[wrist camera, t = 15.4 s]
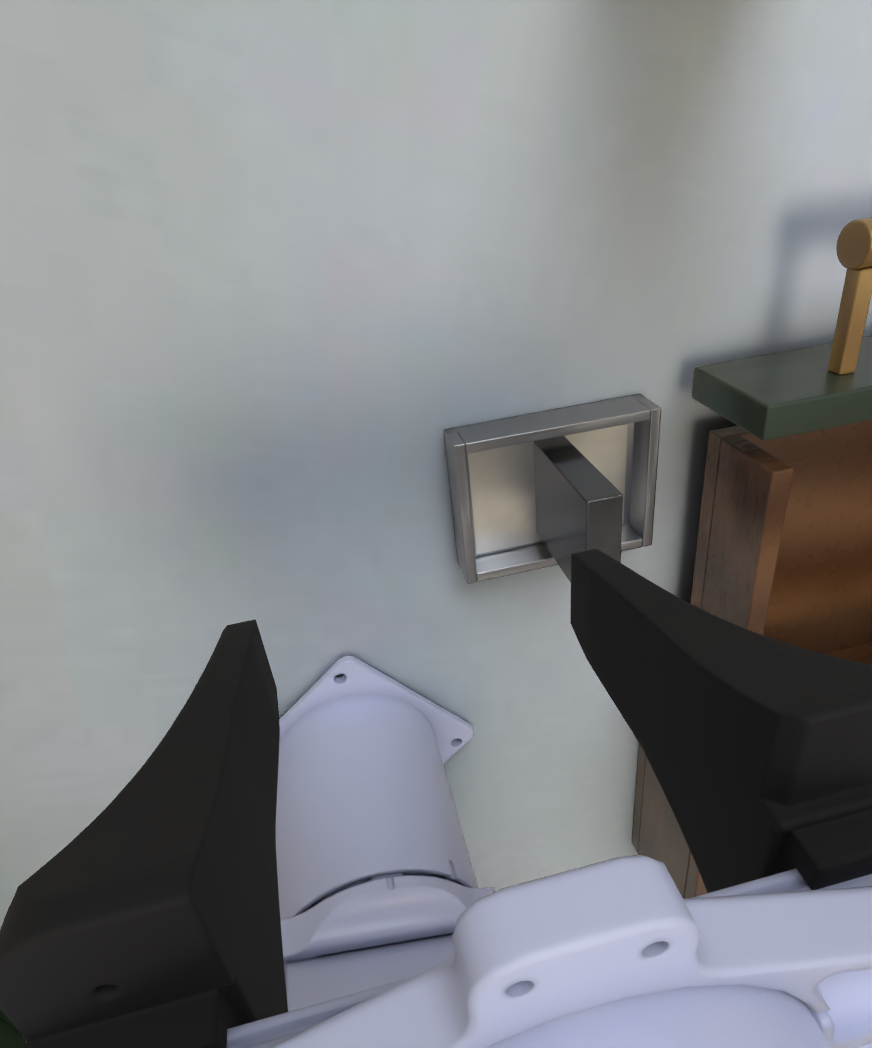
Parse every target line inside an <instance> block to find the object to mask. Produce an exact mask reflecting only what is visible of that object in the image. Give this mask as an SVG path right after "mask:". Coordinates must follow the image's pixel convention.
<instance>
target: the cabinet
mask: <svg viewBox="0 0 872 1048" xmlns="http://www.w3.org/2000/svg"><path fill="white" fill-rule="evenodd" d="M862 663H868V664H872V659H871V660H867V661H863V662H862ZM632 843H633V845H634V847H635V849H636V851H637V852H638V853H639V855H643V856H647V857H649V858H652V859H655V860H657V861H660V862H662V863H664V864H665V866H666V868H667V870H668V872H669V874H670V875H671V877H672V879H673V881H674V883H675V885H676V887H677V889H678V890H679V892H680V894H681V896H682V898H683V899H687V898H693V897H696V896H700V895H703V894H707V893H708V892H707V890H706V888H705V885H704V883H703V880H702V878H701V875H700V873H699V870H698V868H697V866H696V863H695V861H694V859H693V856H692V854H691V852H690V850H689V847H688V845H687V843H686V840H685V838H684V836H683V833H682V831H681V829H680V826H679V824H678V822H677V820H676V818H675V816H674V813H673V811H672V809H671V807H670V805H669V803H668V800H667V798H666V796H665V794H664V792H663V790H662V787H661V785H660V783H659V781H658V779H657V777H656V775H655V773H654V771H653V769H652V767H651V765H650V763H649V761H648V759H647V757H646V755H645V753H644V751H643V749H642V747H641V746H640V744H639V753H638V767H637V781H636V796H635V810H634V824H633V838H632Z"/></svg>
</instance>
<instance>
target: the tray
mask: <svg viewBox="0 0 872 1048" xmlns="http://www.w3.org/2000/svg"><path fill="white" fill-rule="evenodd" d="M660 418H661V407H659V406H658V405H656V404H655V403H653V402H652V401H650V400H649V399H647V398H646V397H644V396H643V395H641V394H637V395H632V396H626V397H621V398H615V399H610V400H604V401H598V402H593V403H587V404H582V405H576V406H571V407H565V408H560V409H554V410H549V411H543V412H538V413H532V414H527V415H521V416H516V417H510V418H505V419H499V420H493V421H488V422H482V423H477V424H471V425H466V426H460V427H455V428H449V429H445V430H444V436H445V446H446V455H447V465H448V474H449V484H450V494H451V503H452V513H453V522H454V532H455V542H456V551H457V561H458V564H459V566H460V568H461V571H462V573H463V575H464V577H465V580H466V582H467V584H470V583H474V582H477V581H478V582H479V581H484V580H488V579H493V578H498V577H503V576H507V575H512V574H517V573H521V572H526V571H531V570H535V569H540V568H545V567H550V566H554V565H559V566H560V568H561V569H562V571H563V572H564V573H565V575H566V576H567V578H568V579H569V581H570V582H571V554H573V553H578V552H582V551H587V550H592V549H598V550H600V551H601V552H603V553H605V554H607V555H608V556H610V557H611V558H613V559H615V560H616V561H618V562H619V563H620V558H621V551H625V550H630V549H634V548H639V547H642V546H648V545H652V534H653V519H654V505H655V490H656V476H657V462H658V447H659V433H660Z"/></svg>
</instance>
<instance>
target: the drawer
mask: <svg viewBox="0 0 872 1048" xmlns="http://www.w3.org/2000/svg"><path fill="white" fill-rule="evenodd" d="M837 256H838V259H839V261H840V263H841V264H842V265H843V266H844V267H845V268H848V269H847V273H846V278H845V283H844V288H843V293H842V298H841V303H840V309H839V314H838V319H837V324H836V329H835V334H834V339H833V343H828V344H822V345H817V346H811V347H805V348H800V349H794V350H789V351H783V352H777V353H772V354H766V355H760V356H755V357H749V358H743V359H738V360H732V361H726V362H721V363H715V364H710V365H704V366H698V367H695V368H694V377H693V388H692V398H693V399H695V400H696V401H698V402H700V403H701V404H703V405H705V406H706V407H708V408H710V409H711V410H713V411H715V412H716V413H718V414H719V415H721V416H723V417H724V418H726V419H728V420H729V421H731V422H733V423H734V424H736V425H738V426H733V427H728V428H722V429H717V430H712V431H709V439H708V448H707V457H706V467H705V476H704V485H703V494H702V503H701V512H700V521H699V531H698V540H697V549H696V558H695V567H694V576H693V585H692V595H691V604H692V605H694V606H696V607H698V608H700V609H702V610H704V611H706V612H708V613H710V614H712V615H714V616H716V617H719V618H721V619H723V620H726V621H728V622H730V623H733V624H735V625H738V626H740V627H742V628H745V629H747V630H750V631H753V632H755V633H758V634H761V635H763V636H766V637H769V638H772V639H775V640H778V641H781V642H784V643H787V644H790V645H794V646H797V647H801V648H804V649H807V650H811V651H815V652H819V653H823V654H827V655H830V656H834V657H838V658H843V659H847V660H852V661H857V662H863V661H867V660H871V659H872V336H867V337H862V336H863V332H864V327H865V322H866V318H867V313H868V309H869V304H870V299H871V295H872V217H871V218H865V219H858V220H853V221H851V222H850V223H848V224H847V225H846V226H845V227H844V228H843V229H842V231H841V232H840V235H839V237H838V241H837Z"/></svg>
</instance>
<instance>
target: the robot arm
mask: <svg viewBox="0 0 872 1048" xmlns="http://www.w3.org/2000/svg"><path fill="white" fill-rule="evenodd" d="M571 625H572V627H573V629H574V631H575V634H576V636H577V638H578V641H579V643H580V645H581V647H582V649H583V651H584V654H585V656H586V658H587V660H588V661H589V663H590V665H591V666H592V668H593V670H594V671H595V673H596V675H597V676H598V678H599V679H600V681H601V683H602V684H603V686H604V687H605V689H606V691H607V692H608V694H609V695H610V697H611V698H612V700H613V702H614V703H615V705H616V706H617V708H618V710H619V711H620V713H621V714H622V716H623V717H624V719H625V721H626V722H627V724H628V725H629V727H630V729H631V730H632V732H633V733H634V735H635V737H636V738H637V740H638V742H639V744H640V746H641V747H642V749H643V751H644V753H645V755H646V757H647V759H648V761H649V763H650V765H651V767H652V769H653V771H654V773H655V775H656V777H657V779H658V781H659V783H660V785H661V787H662V790H663V792H664V794H665V796H666V798H667V800H668V803H669V805H670V807H671V809H672V811H673V813H674V816H675V818H676V820H677V822H678V824H679V826H680V829H681V831H682V833H683V836H684V838H685V840H686V843H687V845H688V847H689V850H690V852H691V854H692V856H693V859H694V861H695V863H696V866H697V868H698V870H699V873H700V875H701V878H702V880H703V883H704V885H705V888H706V890H707V892H708V893H707V894H703V895H700V896H696V897H693V898H687V899H683V898H682V896H681V894H680V892H679V890H678V889H677V887H676V885H675V883H674V881H673V879H672V877H671V875H670V874H669V872H668V870H667V868H666V866H665V864H664V863H662V862H660V861H657V860H655V859H652V858H649V857H647V856H643V855H635V856H626V857H617V858H614V859H610V860H606V861H603V862H599V863H595V864H591V865H588V866H584V867H580V868H577V869H573V870H569V871H566V872H562V873H558V874H555V875H551V876H547V877H543V878H540V879H536V880H532V881H529V882H525V883H521V884H518V885H514V886H510V887H506V888H503V889H500V890H498V891H494V889H493V888H491V887H490V888H478V886H477V882H476V879H475V875H474V872H473V868H472V865H471V861H470V858H469V854H468V851H467V847H466V843H465V840H464V836H463V833H462V829H461V826H460V822H459V819H458V815H457V811H456V808H455V804H454V801H453V797H452V794H451V790H450V787H449V783H448V780H447V776H446V772H445V769H444V765H443V764H444V763H445V762H447V761H448V760H449V759H450V758H451V757H452V756H453V755H454V754H455V753H456V752H458V751H459V750H460V749H461V748H462V747H463V746H464V745H465V744H466V743H467V742H469V741H470V740H471V739H472V737H473V736H474V731H473V728H472V725H471V724H469V723H468V722H466V721H464V720H463V719H461V718H459V717H457V716H456V715H454V714H452V713H450V712H449V711H447V710H445V709H443V708H442V707H440V706H438V705H437V704H435V703H433V702H431V701H430V700H428V699H426V698H424V697H423V696H421V695H419V694H418V693H416V692H414V691H412V690H411V689H409V688H407V687H405V686H404V685H402V684H400V683H398V682H397V681H395V680H393V679H392V678H390V677H388V676H386V675H385V674H383V673H381V672H379V671H378V670H376V669H374V668H373V667H371V666H369V665H367V664H366V663H364V662H362V661H360V660H359V659H357V658H355V657H352V656H345V657H342V658H340V659H339V660H338V661H337V662H336V663H335V664H334V665H333V666H332V667H331V668H330V669H329V670H328V671H327V672H326V673H325V674H324V675H323V676H322V677H321V678H320V679H319V680H318V681H317V682H316V683H315V684H314V685H313V686H312V687H311V688H310V689H309V690H308V691H307V692H306V693H305V694H304V695H303V696H302V697H301V698H300V699H299V700H298V701H297V702H296V703H295V704H294V705H293V706H292V707H291V708H290V709H289V710H288V711H287V712H286V713H285V714H284V715H283V716H282V717H281V718H280V719H279V711H278V699H277V688H276V685H275V681H274V678H273V675H272V672H271V668H270V665H269V662H268V659H267V655H266V652H265V649H264V645H263V642H262V639H261V636H260V632H259V629H258V626H257V623H256V620H251V621H246V622H241V623H236V624H232V625H227V626H226V628H225V629H224V630H223V632H222V634H221V637H220V639H219V641H218V643H217V645H216V648H215V650H214V652H213V654H212V656H211V658H210V660H209V662H208V664H207V666H206V668H205V670H204V672H203V674H202V675H201V677H200V679H199V681H198V683H197V684H196V686H195V688H194V690H193V692H192V694H191V695H190V697H189V699H188V701H187V702H186V704H185V705H184V707H183V709H182V710H181V712H180V713H179V715H178V717H177V718H176V720H175V721H174V723H173V725H172V726H171V728H170V729H169V731H168V732H167V734H166V735H165V737H164V738H163V739H162V741H161V742H160V744H159V745H158V747H157V748H156V749H155V751H154V752H153V753H152V755H151V756H150V757H149V759H148V760H147V761H146V763H145V764H144V765H143V766H142V768H141V769H140V770H139V771H138V772H137V774H136V775H135V776H134V777H133V778H132V780H131V781H130V782H129V783H128V784H127V785H126V786H125V788H124V789H123V790H122V791H121V792H120V793H119V794H118V796H117V797H116V798H115V799H114V800H113V801H112V802H111V803H110V804H109V805H108V807H107V808H106V809H105V810H104V811H103V812H102V813H101V814H100V815H99V816H98V817H97V818H96V819H95V820H94V821H93V822H92V823H91V824H90V825H89V826H88V827H86V828H85V829H84V830H83V831H82V832H81V833H80V834H79V835H78V836H77V837H76V838H75V839H74V840H73V841H72V842H71V843H69V844H68V845H67V846H66V847H65V848H64V849H63V850H62V851H60V852H59V853H58V854H57V855H56V856H55V857H53V858H52V859H51V860H50V861H49V862H47V863H46V864H45V865H44V866H43V867H42V868H40V869H39V870H38V871H37V872H36V873H34V874H33V875H32V876H31V877H30V878H28V879H27V880H26V881H25V882H23V883H22V884H21V885H20V886H19V887H18V889H17V891H16V894H15V896H14V898H13V900H12V903H11V905H10V907H9V909H8V911H7V914H6V917H5V919H4V922H3V925H2V927H1V930H0V1010H1V1011H2V1012H3V1013H4V1014H5V1016H6V1017H7V1018H8V1019H9V1020H10V1021H11V1022H12V1023H13V1024H14V1025H15V1026H16V1027H17V1029H18V1030H19V1031H20V1032H21V1033H22V1034H23V1035H24V1036H25V1037H26V1038H27V1039H28V1040H27V1044H26V1047H25V1048H872V664H868V663H862V662H857V661H852V660H847V659H843V658H838V657H834V656H830V655H827V654H823V653H819V652H815V651H811V650H807V649H804V648H801V647H797V646H794V645H790V644H787V643H784V642H781V641H778V640H775V639H772V638H769V637H766V636H763V635H761V634H758V633H755V632H753V631H750V630H747V629H745V628H742V627H740V626H738V625H735V624H733V623H730V622H728V621H726V620H723V619H721V618H719V617H716V616H714V615H712V614H710V613H708V612H706V611H704V610H702V609H700V608H698V607H696V606H694V605H692V604H690V603H688V602H686V601H684V600H682V599H680V598H679V597H677V596H675V595H673V594H671V593H669V592H668V591H666V590H664V589H662V588H661V587H659V586H657V585H656V584H654V583H652V582H650V581H649V580H647V579H645V578H644V577H642V576H640V575H639V574H637V573H636V572H634V571H632V570H631V569H629V568H628V567H626V566H624V565H623V564H621V563H619V562H618V561H616V560H615V559H613V558H611V557H610V556H608V555H607V554H605V553H603V552H601V551H600V550H598V549H592V550H587V551H582V552H578V553H573V554H571ZM338 674H345V675H344V676H342V677H336V675H338ZM454 739H457V740H454Z"/></svg>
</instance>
